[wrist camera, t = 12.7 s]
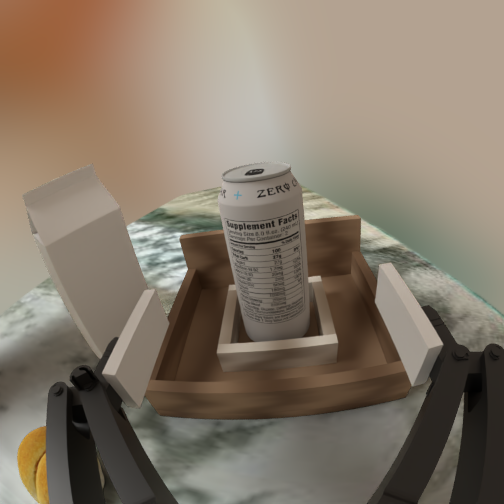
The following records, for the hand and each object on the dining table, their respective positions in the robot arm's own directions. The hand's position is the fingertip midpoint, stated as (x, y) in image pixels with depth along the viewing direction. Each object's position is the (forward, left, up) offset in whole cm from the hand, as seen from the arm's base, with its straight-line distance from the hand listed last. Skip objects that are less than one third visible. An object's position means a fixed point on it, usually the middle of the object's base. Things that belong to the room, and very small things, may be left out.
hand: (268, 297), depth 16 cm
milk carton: (-16, +6, -10) cm, 20 cm away
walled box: (0, +7, -10) cm, 12 cm away
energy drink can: (0, +7, -9) cm, 11 cm away
